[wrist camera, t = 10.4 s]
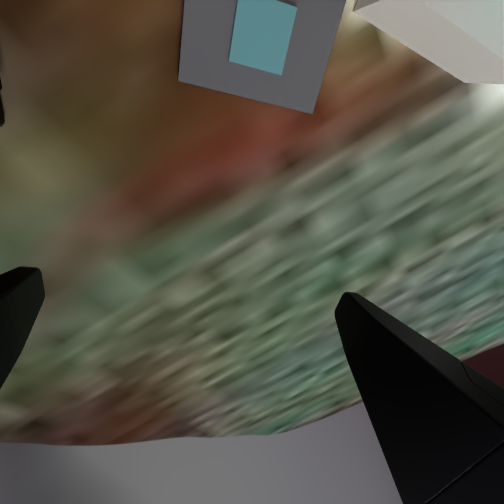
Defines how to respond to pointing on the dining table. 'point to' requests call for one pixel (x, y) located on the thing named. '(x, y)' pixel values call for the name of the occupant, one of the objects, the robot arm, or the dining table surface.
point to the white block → (446, 33)
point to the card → (260, 48)
